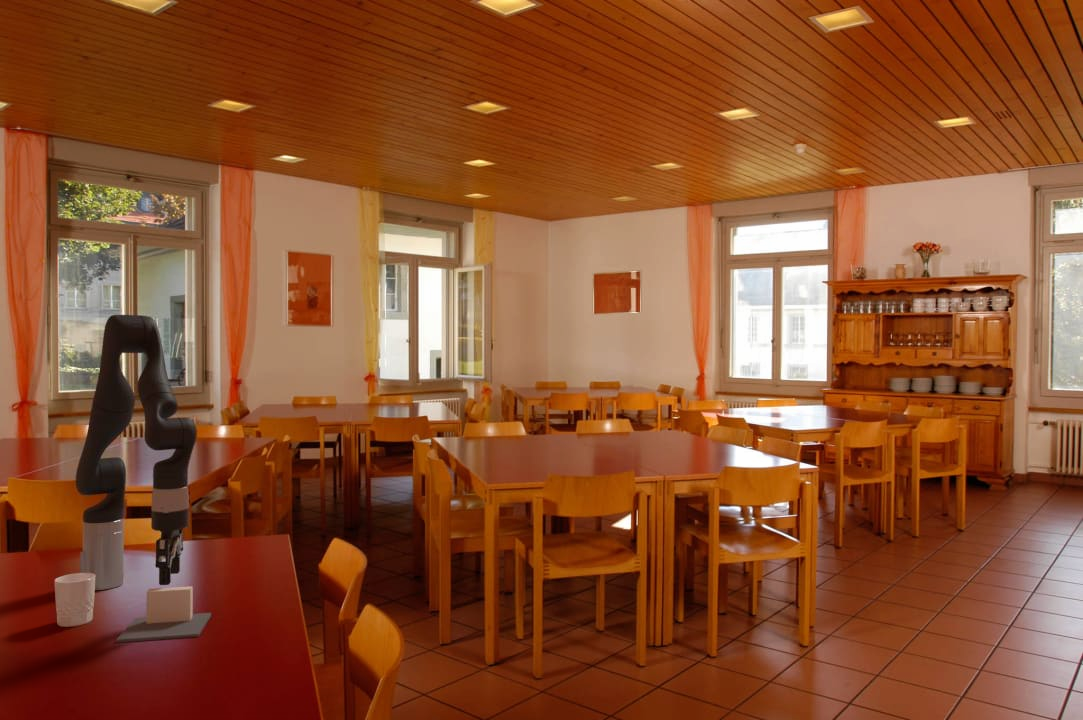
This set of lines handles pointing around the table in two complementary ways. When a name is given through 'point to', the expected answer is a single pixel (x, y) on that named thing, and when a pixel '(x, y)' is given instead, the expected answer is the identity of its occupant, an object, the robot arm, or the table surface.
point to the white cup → (74, 599)
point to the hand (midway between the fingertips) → (169, 578)
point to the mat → (163, 629)
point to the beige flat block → (169, 604)
